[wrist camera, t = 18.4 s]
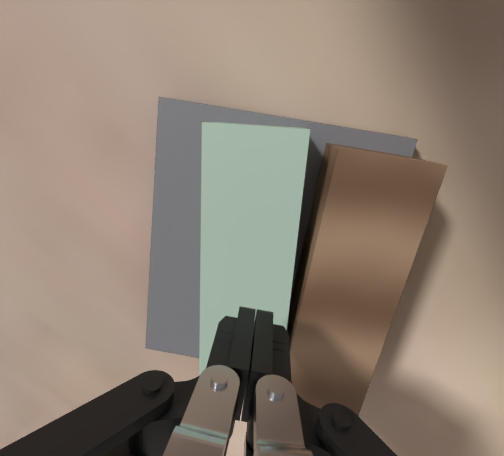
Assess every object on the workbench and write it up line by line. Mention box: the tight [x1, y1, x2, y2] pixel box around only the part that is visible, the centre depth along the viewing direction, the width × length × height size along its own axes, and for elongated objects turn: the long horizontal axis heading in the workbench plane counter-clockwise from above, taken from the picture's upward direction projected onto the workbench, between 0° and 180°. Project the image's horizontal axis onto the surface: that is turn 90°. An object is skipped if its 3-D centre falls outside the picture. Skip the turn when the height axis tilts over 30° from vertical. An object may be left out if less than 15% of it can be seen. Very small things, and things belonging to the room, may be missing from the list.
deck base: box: [145, 97, 418, 358], centre depth 21 cm, size 18×15×1 cm
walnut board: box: [287, 143, 447, 416], centre depth 19 cm, size 16×5×4 cm, turn 171°
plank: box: [199, 122, 310, 375], centre depth 19 cm, size 16×5×4 cm, turn 176°
